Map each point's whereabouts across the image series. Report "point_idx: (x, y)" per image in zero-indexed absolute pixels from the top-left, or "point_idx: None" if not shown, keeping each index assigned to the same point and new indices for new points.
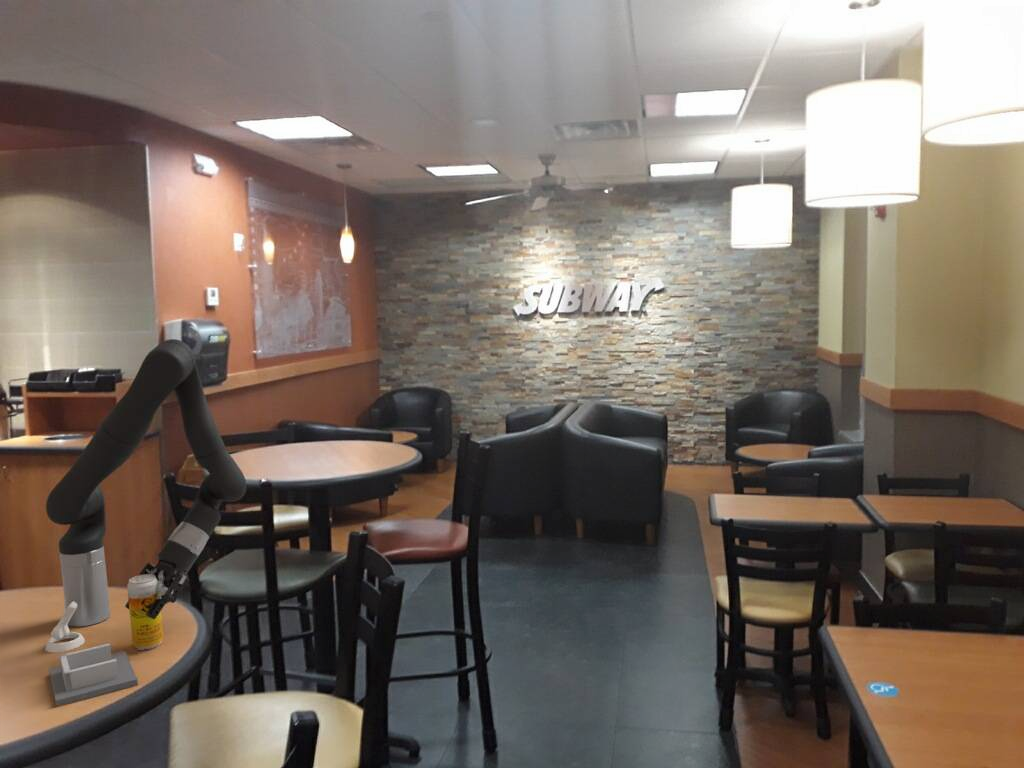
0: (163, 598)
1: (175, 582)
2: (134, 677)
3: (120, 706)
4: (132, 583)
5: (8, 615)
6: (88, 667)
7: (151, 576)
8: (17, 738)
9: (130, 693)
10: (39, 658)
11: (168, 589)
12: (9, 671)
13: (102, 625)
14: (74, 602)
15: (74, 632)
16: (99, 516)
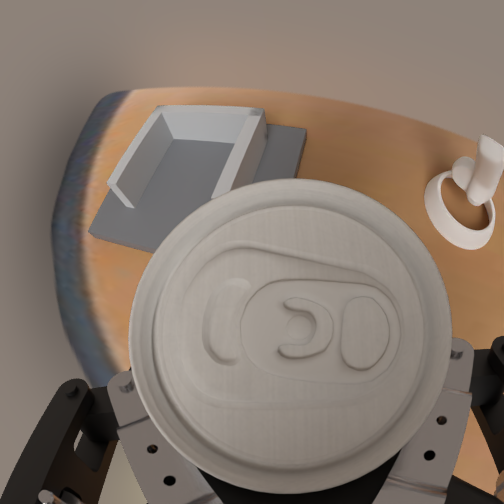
0: (106, 390)
1: (19, 461)
2: (97, 229)
3: (69, 192)
4: (239, 191)
5: None
6: (136, 136)
7: (308, 461)
8: (130, 95)
9: (84, 216)
10: (415, 153)
11: (63, 423)
12: (382, 111)
13: None
14: (500, 150)
15: (489, 227)
16: None
